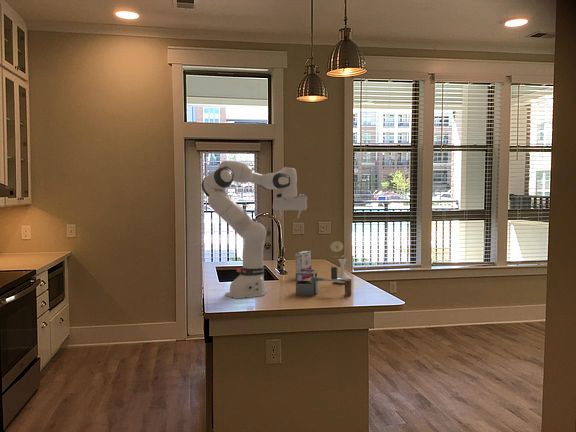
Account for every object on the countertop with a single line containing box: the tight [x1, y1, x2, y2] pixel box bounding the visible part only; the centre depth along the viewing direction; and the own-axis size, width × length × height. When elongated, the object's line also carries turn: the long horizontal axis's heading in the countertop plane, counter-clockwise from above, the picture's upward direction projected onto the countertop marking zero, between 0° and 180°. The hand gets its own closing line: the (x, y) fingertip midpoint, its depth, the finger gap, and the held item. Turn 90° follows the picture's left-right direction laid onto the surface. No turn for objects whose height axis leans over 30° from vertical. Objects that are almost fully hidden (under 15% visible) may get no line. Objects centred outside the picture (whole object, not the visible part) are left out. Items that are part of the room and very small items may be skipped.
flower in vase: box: [329, 240, 353, 284], centre depth 298 cm, size 13×11×25 cm
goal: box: [295, 269, 318, 297], centre depth 269 cm, size 10×12×12 cm
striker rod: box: [309, 265, 348, 295], centre depth 266 cm, size 20×6×14 cm, turn 78°
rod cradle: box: [344, 278, 352, 297], centre depth 264 cm, size 3×5×8 cm, turn 168°
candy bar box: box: [294, 250, 313, 280], centre depth 317 cm, size 11×5×16 cm, turn 143°
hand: (290, 217), depth 296 cm, fingers open, 8 cm apart
